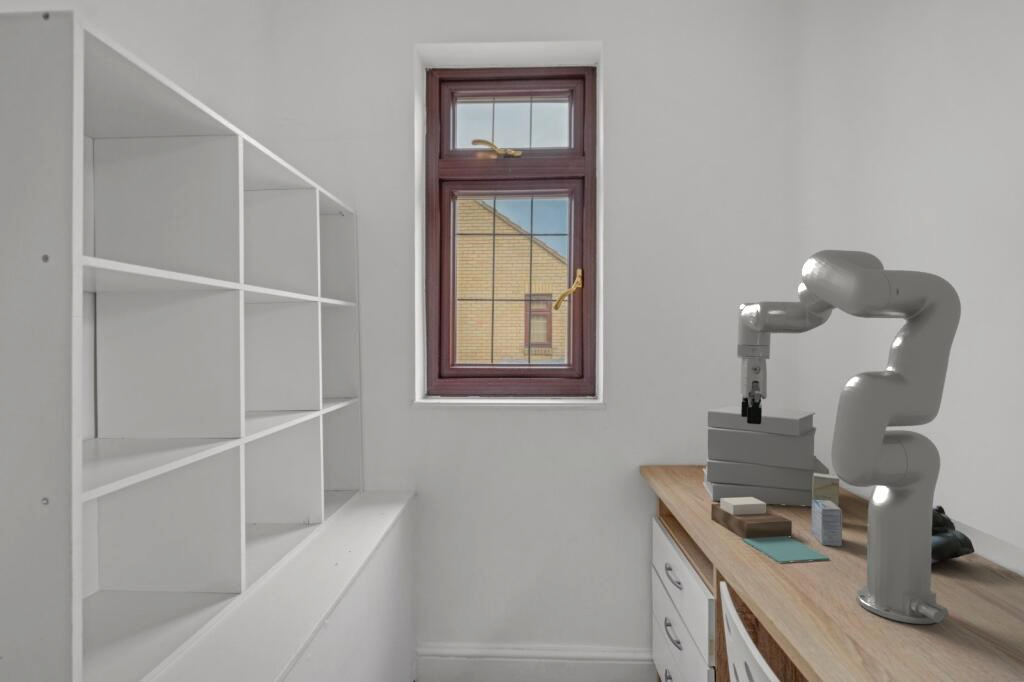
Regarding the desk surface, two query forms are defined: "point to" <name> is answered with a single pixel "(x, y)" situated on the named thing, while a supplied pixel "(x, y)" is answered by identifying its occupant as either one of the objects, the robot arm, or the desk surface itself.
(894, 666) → the desk surface
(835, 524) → the medicine box
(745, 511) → the white rectangular block
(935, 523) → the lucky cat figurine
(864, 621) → the desk surface
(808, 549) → the mat
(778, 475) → the book stack
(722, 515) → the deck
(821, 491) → the skincare box
